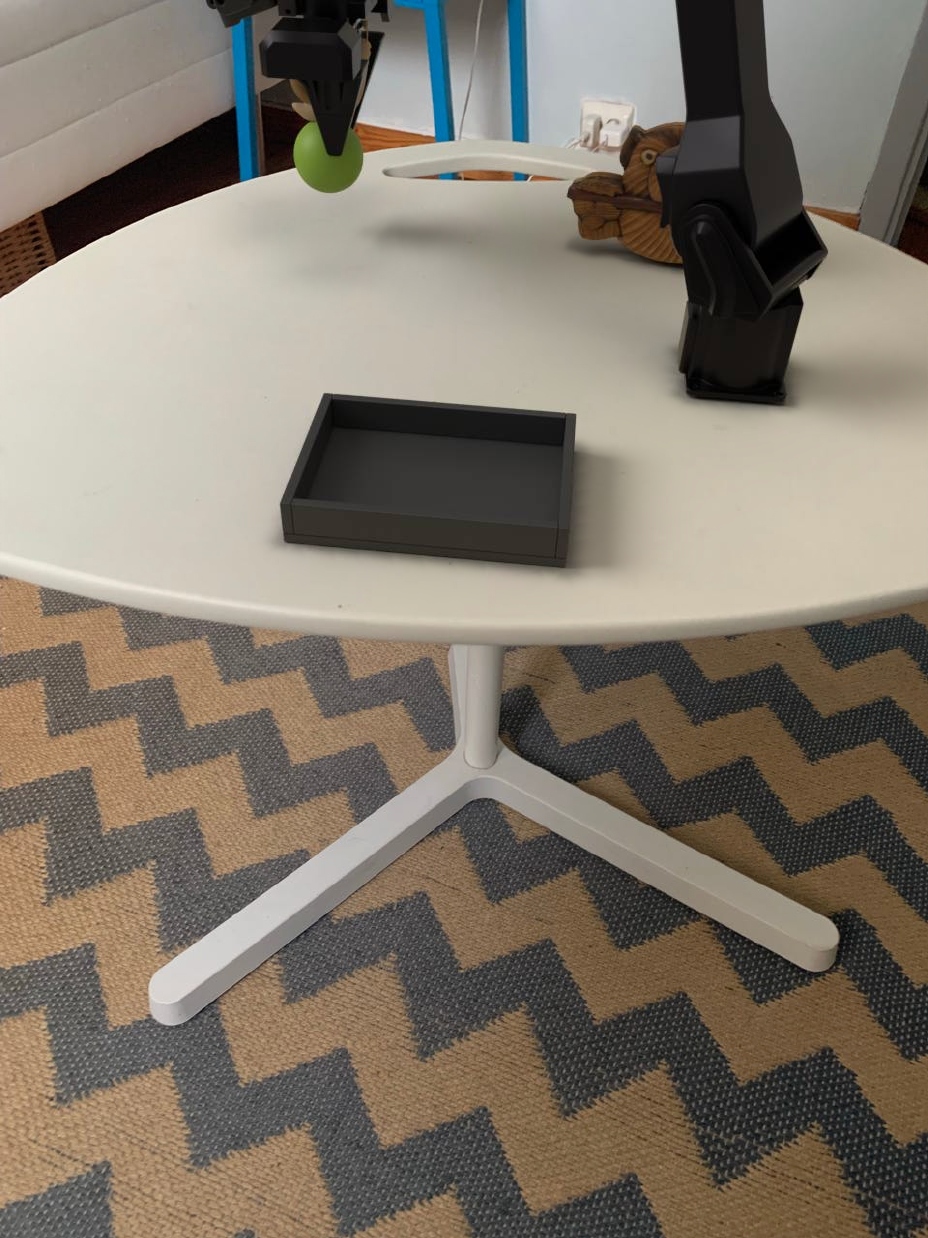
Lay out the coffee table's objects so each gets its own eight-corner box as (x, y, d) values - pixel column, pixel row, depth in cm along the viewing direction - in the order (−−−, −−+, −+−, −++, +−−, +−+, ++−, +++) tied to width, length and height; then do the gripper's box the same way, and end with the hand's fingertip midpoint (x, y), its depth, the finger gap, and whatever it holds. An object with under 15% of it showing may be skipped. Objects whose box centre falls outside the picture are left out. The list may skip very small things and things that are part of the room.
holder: (572, 449, 64) (576, 412, 62) (565, 567, 55) (570, 529, 54) (326, 429, 65) (323, 392, 63) (283, 542, 56) (279, 503, 55)
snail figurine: (376, 201, 82) (368, 27, 74) (293, 202, 81) (277, 27, 74) (378, 181, 86) (371, 14, 78) (300, 181, 86) (285, 14, 78)
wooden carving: (558, 258, 83) (570, 126, 77) (566, 235, 87) (578, 107, 80) (767, 283, 81) (799, 150, 74) (768, 259, 84) (798, 129, 78)
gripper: (245, -123, 77) (266, 102, 88) (164, -75, 64) (202, 185, 74) (393, -116, 77) (397, 111, 87) (344, -66, 63) (356, 195, 74)
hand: (339, 147), depth 81 cm, fingers closed on snail figurine, 3 cm apart
